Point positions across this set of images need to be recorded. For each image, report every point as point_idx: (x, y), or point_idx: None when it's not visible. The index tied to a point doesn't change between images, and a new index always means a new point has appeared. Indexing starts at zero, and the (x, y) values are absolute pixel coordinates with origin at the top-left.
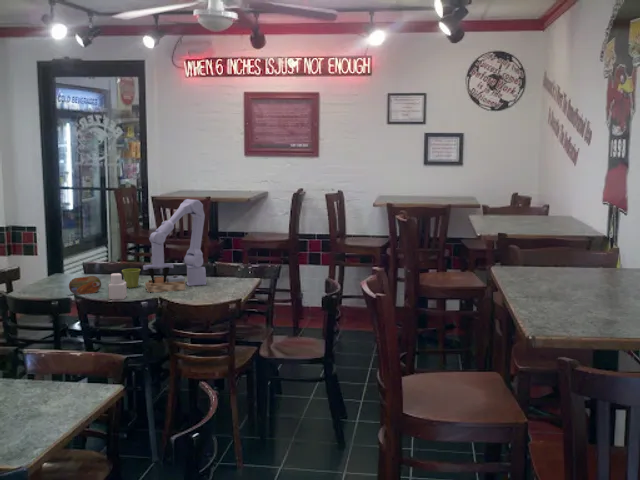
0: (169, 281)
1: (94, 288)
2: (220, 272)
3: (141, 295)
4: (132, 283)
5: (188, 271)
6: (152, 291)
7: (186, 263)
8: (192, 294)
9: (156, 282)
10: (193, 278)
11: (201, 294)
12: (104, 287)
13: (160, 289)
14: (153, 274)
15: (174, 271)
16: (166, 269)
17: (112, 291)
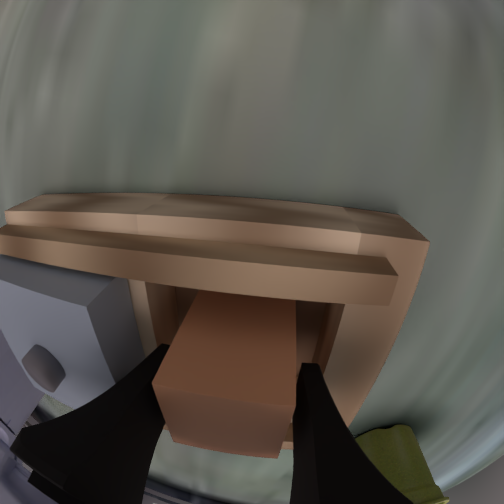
0: (94, 286)
1: None
2: (37, 420)
3: (480, 130)
4: (399, 444)
5: (2, 393)
6: (359, 213)
7: (10, 455)
8: (41, 15)
9: (280, 351)
10: (2, 338)
11: (13, 19)
12: (464, 435)
13: (256, 205)
14: (324, 472)
15: (160, 491)
16: (34, 466)
17: None
